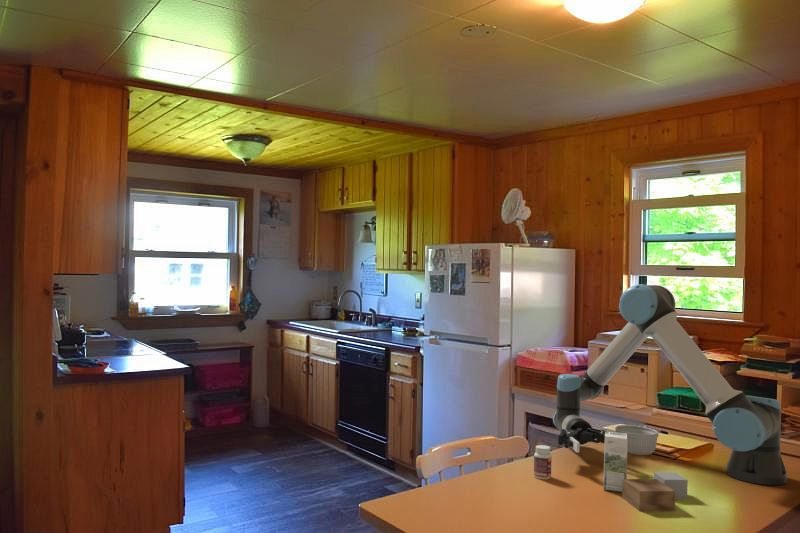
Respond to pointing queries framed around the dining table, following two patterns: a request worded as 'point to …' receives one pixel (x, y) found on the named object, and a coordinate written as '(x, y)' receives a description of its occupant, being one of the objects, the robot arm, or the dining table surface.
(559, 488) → the dining table surface
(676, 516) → the dining table surface
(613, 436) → the syrup box
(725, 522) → the dining table surface
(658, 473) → the grey block
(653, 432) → the ramekin
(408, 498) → the dining table surface
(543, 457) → the pill bottle
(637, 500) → the walnut block
